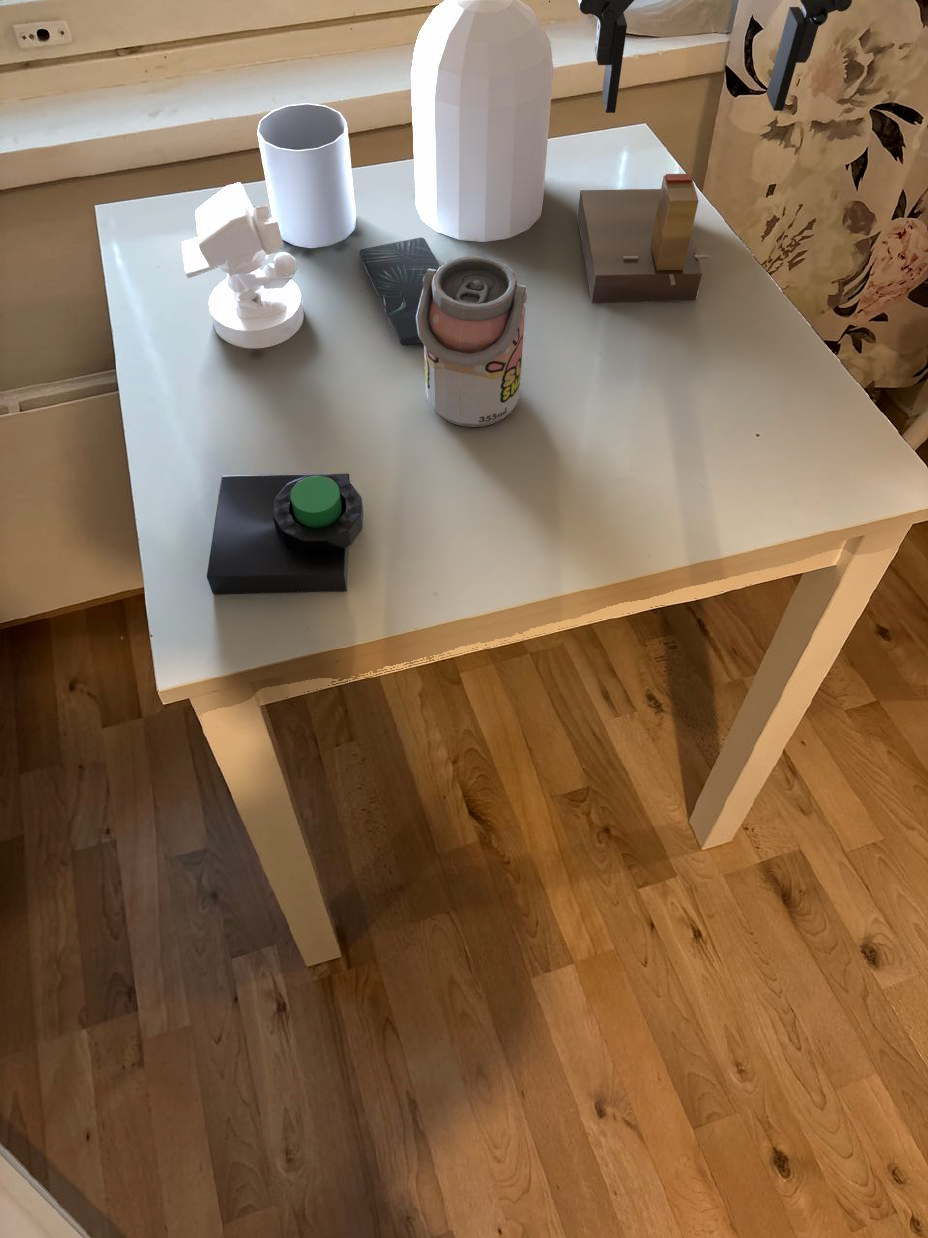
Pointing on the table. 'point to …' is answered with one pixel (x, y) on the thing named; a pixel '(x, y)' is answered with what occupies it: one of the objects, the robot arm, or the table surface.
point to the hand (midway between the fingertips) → (691, 103)
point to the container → (481, 118)
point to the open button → (316, 501)
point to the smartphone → (400, 281)
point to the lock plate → (630, 249)
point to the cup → (308, 174)
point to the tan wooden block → (674, 221)
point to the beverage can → (472, 339)
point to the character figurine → (245, 271)
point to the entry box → (279, 538)
